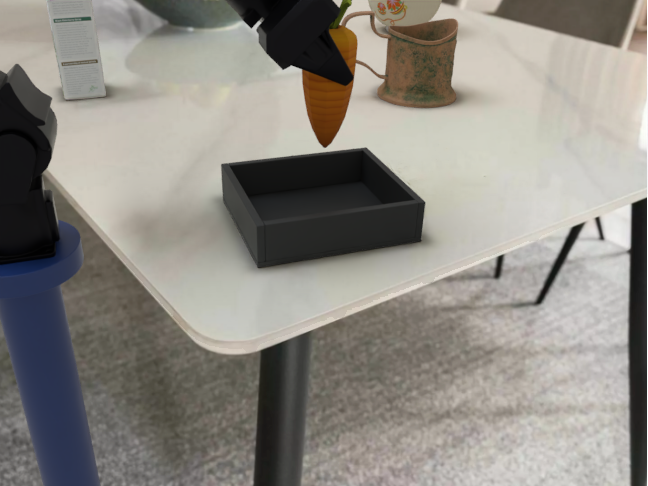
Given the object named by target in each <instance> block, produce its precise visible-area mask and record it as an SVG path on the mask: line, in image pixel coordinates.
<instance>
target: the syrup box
mask: <svg viewBox="0 0 648 486" xmlns="http://www.w3.org/2000/svg"><path fill="white" fill-rule="evenodd" d="M45 3H46V9H47V14H48V20H49V26H50V31H51V38H52V42H53V49H54V53H55V58H56V64H57V69H58V74H59V79H60V80H59V81H60V85H61V90H62V94H63V98H64V100H65V101H66V100H67V101H68V100H87V99H96V98H103V97H106V96H107V90H106V83H105V76H104V69H103V61H102V55H101V49H100V43H99V35H98V29H97V23H96V18H95V13H94V6H93V0H45Z"/></svg>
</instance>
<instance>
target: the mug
mask: <svg viewBox="0 0 648 486" xmlns="http://www.w3.org/2000/svg"><path fill="white" fill-rule="evenodd" d="M361 16H369V24H370V28H371V30H372V32H373V33H374V34H375V35H376V36H377V37H379V38H382V39H387V44H386V60H385V70H384V74H380V73H377V72H376V71H375V70H374V69H373V68H372V67H371V66H370V65H368V64H367V63H366V62H363V61H362V60H359V59H356V65H359V66H363V67H364V68H366V69H367V70H369V71H370V72H371V73H372V74H373V75H375V76H376V77H377V78H379V79H380V80H383V82H382V83H381V84H380V85H379V86H378V87H377V90H376V94H377V97H378V98H379V99H381V100H382V101H384V102H387V103H389V104H393V105H397V106H401V107H408V108H418V109H420V108H421V109H423V108H424V109H427V108H428V109H429V108H431V109H432V108H440V107H445V106H449V105H452V104H453V103H454V102H456V100H457V92H456V90H454V88H453V87H452V80H453V79H452V78H453V74H454V65H455V54H456V48H457V44H458V40H457V36H458V31H459V21H458V20H457V19H456V18H454V17H453V18H444V19H438V20H430V21H429V22H425V23H421V24H416V25H409V26H389V27H388V32H387V34H384V33H383V34H382V33H380V32H379V31H378V30H377V27H376V23H375V22H376V21H375V19H376V17H375V13H374V12H373V11H371V10H361V11H354V12H351V13H349V14H347V15H346V16H345V17H343V18H342V20H341V23H340V25H343V26H345V27H347V26H346V25H347V24H348V22H349V21H350V20H351V19H353V18H357V17H361Z"/></svg>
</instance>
